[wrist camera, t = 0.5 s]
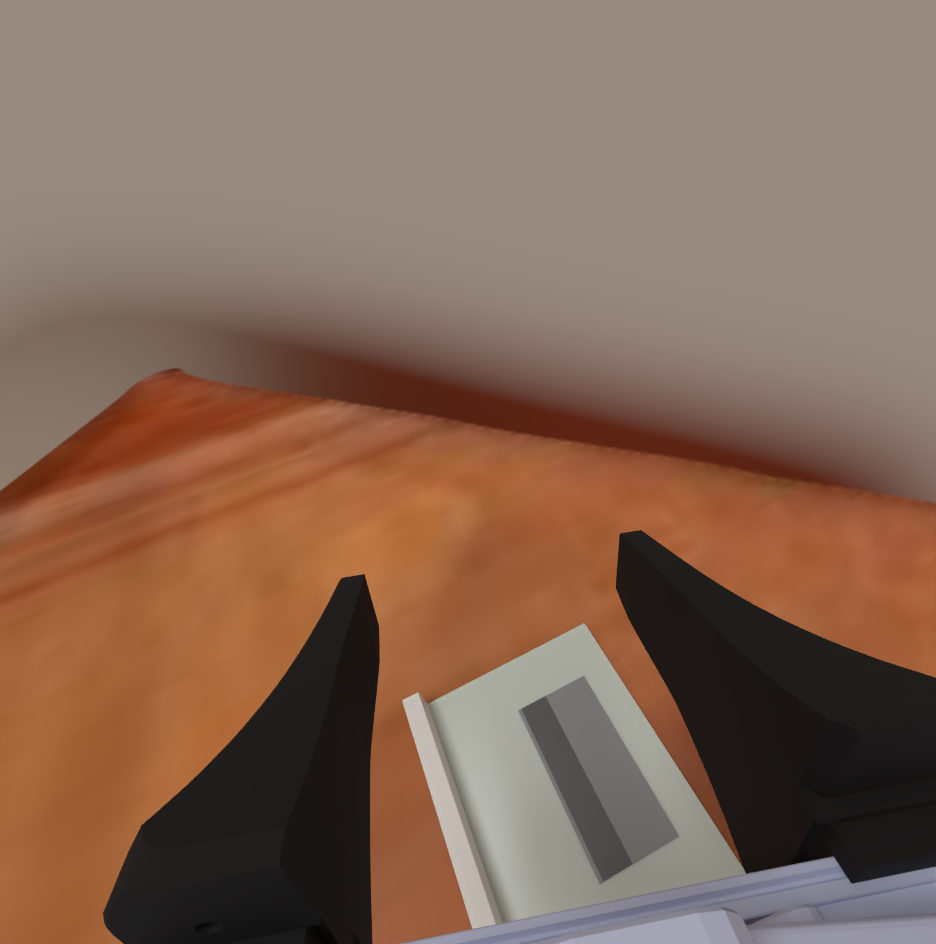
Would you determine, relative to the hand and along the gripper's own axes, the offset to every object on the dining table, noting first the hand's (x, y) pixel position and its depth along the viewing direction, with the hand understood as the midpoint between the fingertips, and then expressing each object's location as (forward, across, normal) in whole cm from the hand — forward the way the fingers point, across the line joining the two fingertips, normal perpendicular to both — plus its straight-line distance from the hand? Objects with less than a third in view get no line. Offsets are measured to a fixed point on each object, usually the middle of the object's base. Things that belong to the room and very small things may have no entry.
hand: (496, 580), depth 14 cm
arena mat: (+1, -3, +19) cm, 19 cm away
